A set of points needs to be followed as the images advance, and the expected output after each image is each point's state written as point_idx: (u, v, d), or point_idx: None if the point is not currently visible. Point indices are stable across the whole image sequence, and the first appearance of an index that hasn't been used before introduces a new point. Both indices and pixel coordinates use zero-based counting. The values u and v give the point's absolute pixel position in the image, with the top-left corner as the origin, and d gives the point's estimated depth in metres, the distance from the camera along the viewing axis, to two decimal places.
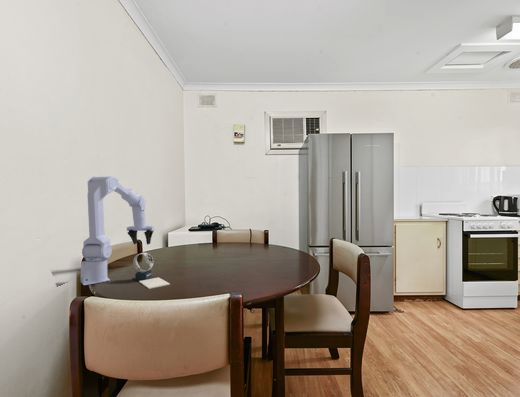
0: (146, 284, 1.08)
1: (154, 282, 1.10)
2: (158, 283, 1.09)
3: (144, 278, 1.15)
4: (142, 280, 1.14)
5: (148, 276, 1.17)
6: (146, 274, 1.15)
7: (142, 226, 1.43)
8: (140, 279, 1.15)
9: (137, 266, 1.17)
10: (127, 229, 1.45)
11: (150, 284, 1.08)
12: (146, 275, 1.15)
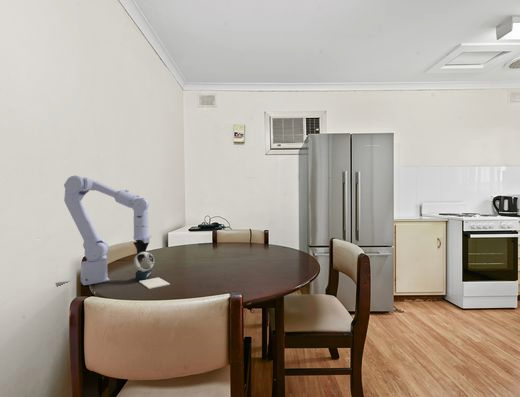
0: (146, 284, 1.08)
1: (154, 282, 1.10)
2: (158, 283, 1.09)
3: (144, 278, 1.14)
4: (142, 280, 1.14)
5: (148, 275, 1.17)
6: (146, 274, 1.15)
7: (139, 235, 1.16)
8: (140, 279, 1.14)
9: (137, 265, 1.16)
10: None
11: (150, 284, 1.08)
12: (146, 275, 1.15)
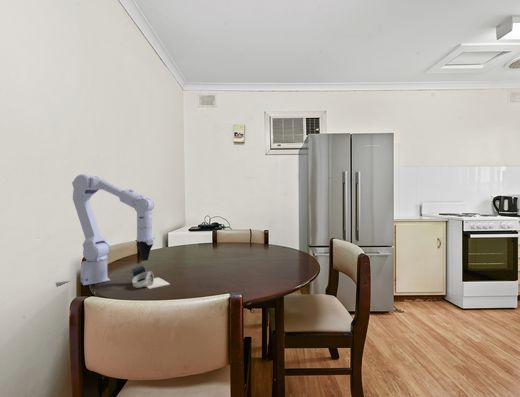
0: None
1: (154, 282, 1.10)
2: (158, 283, 1.09)
3: None
4: None
5: None
6: None
7: (142, 237, 1.12)
8: None
9: (135, 281, 1.08)
10: None
11: None
12: None
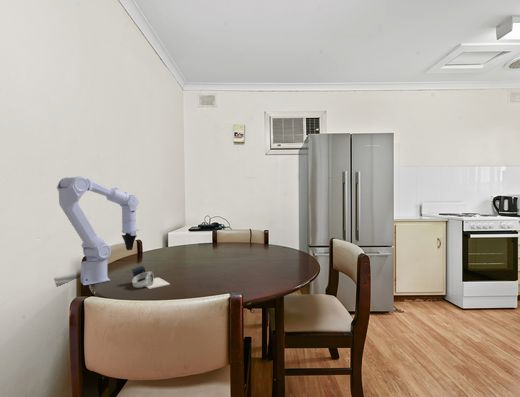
0: None
1: (154, 282, 1.10)
2: (158, 283, 1.09)
3: None
4: None
5: None
6: None
7: (126, 229, 1.26)
8: None
9: (135, 281, 1.08)
10: None
11: None
12: None
